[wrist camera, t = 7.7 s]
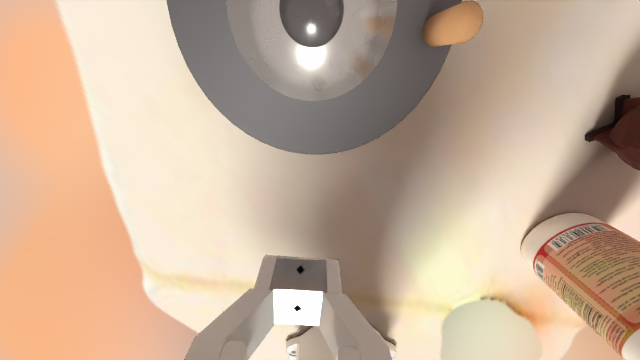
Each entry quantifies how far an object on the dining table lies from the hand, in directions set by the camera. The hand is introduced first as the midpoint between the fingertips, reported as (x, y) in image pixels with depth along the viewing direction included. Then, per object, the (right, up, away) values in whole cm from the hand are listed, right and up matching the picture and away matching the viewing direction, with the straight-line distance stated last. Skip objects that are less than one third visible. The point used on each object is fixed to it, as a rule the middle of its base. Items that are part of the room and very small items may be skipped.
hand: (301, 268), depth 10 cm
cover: (0, +16, +8) cm, 18 cm away
